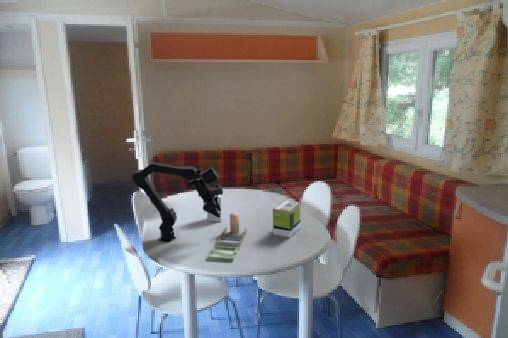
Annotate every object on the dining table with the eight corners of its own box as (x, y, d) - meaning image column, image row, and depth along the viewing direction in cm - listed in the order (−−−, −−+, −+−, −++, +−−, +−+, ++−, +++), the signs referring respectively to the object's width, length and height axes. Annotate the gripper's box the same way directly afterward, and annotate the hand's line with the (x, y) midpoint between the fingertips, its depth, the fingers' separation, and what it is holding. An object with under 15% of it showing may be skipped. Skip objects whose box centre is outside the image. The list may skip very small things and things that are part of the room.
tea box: (284, 224, 213) (284, 199, 209) (300, 228, 208) (301, 202, 205) (272, 234, 200) (272, 207, 197) (290, 238, 195) (290, 210, 192)
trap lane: (225, 229, 207) (225, 226, 207) (246, 230, 205) (246, 228, 205) (207, 259, 173) (207, 257, 172) (233, 261, 171) (233, 258, 171)
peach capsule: (228, 232, 202) (228, 215, 200) (233, 229, 206) (233, 212, 204) (236, 234, 200) (235, 216, 198) (241, 231, 204) (240, 213, 202)
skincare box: (207, 221, 218) (206, 196, 215) (209, 217, 224) (208, 193, 221) (221, 222, 218) (221, 197, 214) (223, 218, 224) (222, 193, 220)
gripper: (214, 185, 179) (232, 212, 183) (217, 175, 198) (233, 199, 201) (194, 198, 181) (213, 224, 184) (199, 187, 199) (216, 210, 202)
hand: (219, 213), depth 193 cm, fingers open, 9 cm apart
